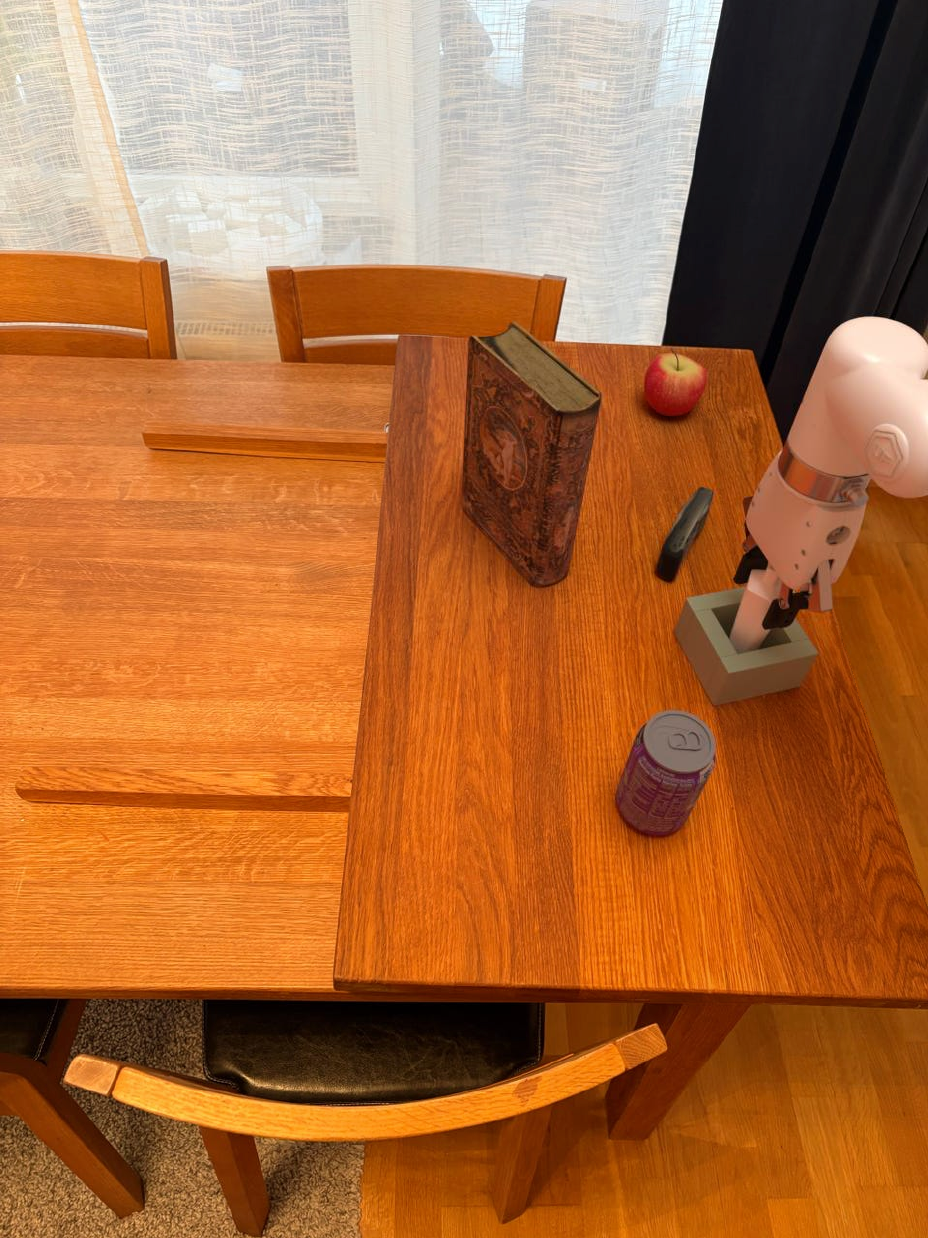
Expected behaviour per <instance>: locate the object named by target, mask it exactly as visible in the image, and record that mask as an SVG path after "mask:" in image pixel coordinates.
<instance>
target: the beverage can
mask: <svg viewBox="0 0 928 1238" xmlns="http://www.w3.org/2000/svg"><path fill="white" fill-rule="evenodd" d="M714 736H715V735H714V734H713V731H712V730H711V729H710V727H709V726H708V725H707V724H706V722H705V721H703V720H702V719H701V718H700V717H698V716H697V715H695V714H693V713H690V712H687V711H684V710H680V709H667V710H663V711H660V712H658V713H656V714H654V715H653V716H652V717H650V719H648V721H647V722H646V723H644V724H643V725H642V726H641V728H640V729H639V730H638V732H637V733H636V735H635V737H634V738H635V739H634V740H633V744H632V746H631V749H630V752H629V755H628V757H627V759H626V763H625V765H624V768H623V771H622V774H621V776H620V779H619V781H618V785H617V788H616V793H615V801H616V805H617V806H616V807H617V808H618V811H619V814H620V815H621V816H622V817H623V819H624V820H625V821H626V822H627V823H628V824H629V825H630V826H631V827H633V828H634V829H636V830H637V831H639V832H641V833H644V834H647V835H652V836H666V835H671V834H673V833H675V832H677V831H679V830H680V829H681V828H682V827H684V825H685V824H686V822H687V821H688V819H689V817H690V815H691V813H692V812H693V809H694V807H695V805H696V804H697V802H698V800H699V798H700V796H701V794H702V792H703V790H704V789H705V787H706V784H707V782H708V781H709V779H710V777H711V775H712V773H713V771H714V768H715V765H716V750H717V749H716V747H717V745H716V739H715V737H714Z"/></svg>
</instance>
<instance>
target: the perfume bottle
mask: <svg viewBox="0 0 928 1238" xmlns="http://www.w3.org/2000/svg"><path fill="white" fill-rule="evenodd" d="M781 583H782V580H781V578H780V577H779V576H778V574H777V573H776V571H775V570H774V569H773V567H772V566H771V564H770V563H769V562H768V567H767V569H766V570H757V569H753V570H752V571H751V574H750V577H749V580H748V583H746V585H745V586H746V589H745V592H744V595H743V598H742V601H741V604H740V607H739V609H738V612H737V615H736V618H735V621H734V624H733V627H732V630H731V633H730V636H728V639H729V640H730V642H731V644H732V645H733V647H734V649H735V651H736V652H737V654H741V653H745V652H750V651H755V650H758V648H759V647H760V645H761V644H762V642H763V640H764V639H765V637H766V636H767V634H768V633H769V631H770V629H768V630H764V628H763V627H762V621H763V619H764V617H765V615H766V613H767V611H768V609H769V607H770V605H771V603H772V601H773V600H775V599H779V595H780V589H781ZM793 593H795V590H793Z"/></svg>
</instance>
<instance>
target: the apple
mask: <svg viewBox="0 0 928 1238" xmlns="http://www.w3.org/2000/svg"><path fill="white" fill-rule="evenodd" d="M669 351H671V352H664V353H660V354H658V355H657V356H655V358H653V360H652V361H651V362H650V363H649V365H648V367H647V368H646V372H645V375H644V378H643V391H644V396H645V399H646V401H647V403H648V404H649V406H650V407H651V408H652V409H653V410H654V411H655V412H656V413H658V414H659V415H662V416H665V417H679V416H683V415H685V414H687V413H688V412H690V411H691V410H692V409H693V408H694V407H695V406H696V405H697V404H698V402H699V401H700V400H701V398H702V396H703V394H704V392H705V390H706V386H707V382H708V374H707V370H706V369H705V367H704V366H703V365H702V364H700V363H699V362H698V361H696V360H694V359H692V358H691V357H688V356H686V355H684V354H680V353H676V351H675V350H674V348H673V347H669Z"/></svg>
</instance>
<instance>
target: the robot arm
mask: <svg viewBox="0 0 928 1238" xmlns="http://www.w3.org/2000/svg"><path fill="white" fill-rule="evenodd" d="M927 373H928V343H927V341H926V340H925V339H924V338H923V336H922V335H921V334H920V333H919V332H917V331H916V330H915V329H913V328H912V327H911V326H908V325H907V324H904V323H902V322H901V321H897V320H893V319H890V318H886V317H880V316H862V317H861V316H860V317H856V318H852V319H849V320H847V321H845V322H843V323H841V324H840V325H838V327H836V328H835V329H834V330H833V331H832V333H831V334H830V335H829V337H828V338H827V341H826V343H825V345H824V347H823V349H822V352H821V354H820V356H819V359H818V361H817V364H816V367H815V369H814V371H813V373H812V376H811V378H810V381H809V383H808V386H807V389H806V390H805V393H804V396H803V398H802V401H801V403H800V406H799V408H798V411H797V413H796V415H795V417H794V420H793V423H792V425H791V427H790V430H789V433H788V435H787V437H786V439H785V443H784V444H783V447H782V449H781V450H780V451H778V453H777V454H776V456H775V457H774V458H773V460H772V461H771V463H770V464H769V466H768V467H767V469H766V471H765V473H764V474H763V476H762V478H761V479H760V481H759V483H758V485H757V487H756V490H755V492H754V494H753V495H750V496H746V497H744V498H743V499H742V507H743V513H744V518H745V520H744V523H743V526H744V531H745V539H744V540H743V541H742V544H741V548H742V551H743V552H744V554H742V556H741V559H740V561H739V563H738V566H737V569H736V571H735V573H734V576H733V577H732V580H733V582H734V583H735V585H738V586H740V585H745V584H747V583H748V580H749V577H750V574H751V571H752V570H753V569H757V570H766V569H767V567H768V562H769V563H770V564H771V566H772V567H773V569H774V570H775V571H776V573H777V574H778V576H779V577H780V578H781V580H782V583H781V589H780V595H779V599H775V600H773V601H772V603H771V605H770V607H769V609H768V611H767V613H766V615H765V617H764V619H763V621H762V627H763V628H764V630H768V629H773V628H785V627H788V626H790V625H791V624H792V623H793V622H794V620H795V618H796V619H797V616H798V614H799V612H800V611H804V610H807V611H808V612H813V613H817V614H822V613H825V612H830V611H832V610H833V608H834V603H833V590H832V584H835V583H836V582H837V581H838V580H839V578H840V576H841V574H842V573H843V571H844V569H845V567H846V565H847V562H848V561H849V559H850V556H851V554H852V552H853V549H854V547H855V544H856V541H857V540H858V537H859V533H860V531H861V527H862V525H863V520H864V517H865V514H866V513H865V512H866V508H867V502H868V501H869V500H870V499H869V498H870V496H869V495H868V493H867V492H866V489H867V487H868V486H869V483H870V482H871V480H872V481H873V482H874V483H875V484H876V485H877V486H878V487H879V488H881V490H883V491H885V492H886V493H888V494H890V495H892V496H895V497H897V498H904V499H916V498H922V497H926V496H928V379H925V378H926V375H927ZM793 590H794V593H793ZM798 591H799V592H798Z"/></svg>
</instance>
